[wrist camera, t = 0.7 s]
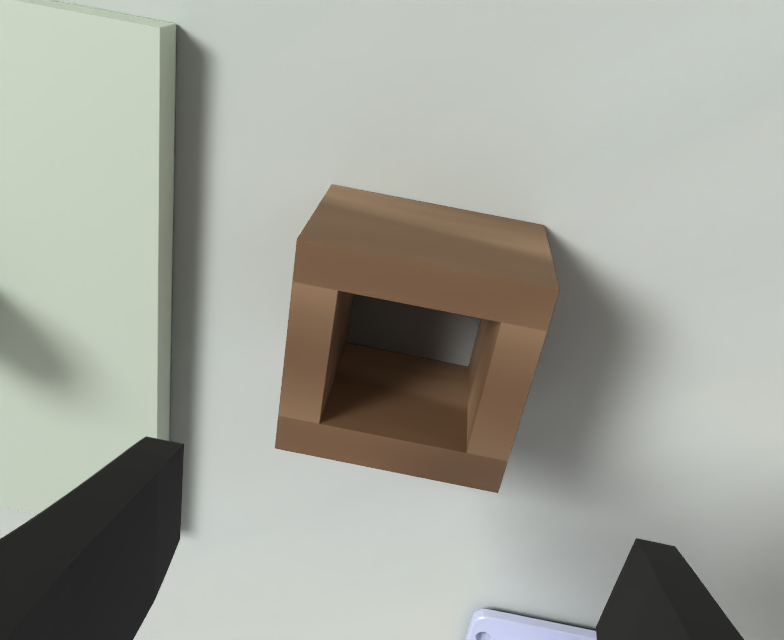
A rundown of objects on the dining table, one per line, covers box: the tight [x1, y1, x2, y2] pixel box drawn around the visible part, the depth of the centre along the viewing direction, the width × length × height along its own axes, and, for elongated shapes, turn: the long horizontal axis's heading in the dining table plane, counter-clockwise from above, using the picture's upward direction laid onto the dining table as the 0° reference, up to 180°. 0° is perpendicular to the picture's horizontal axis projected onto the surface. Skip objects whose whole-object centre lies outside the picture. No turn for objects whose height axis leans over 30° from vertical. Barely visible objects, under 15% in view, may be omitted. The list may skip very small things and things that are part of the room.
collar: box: [275, 185, 560, 493], centre depth 18 cm, size 6×6×4 cm
